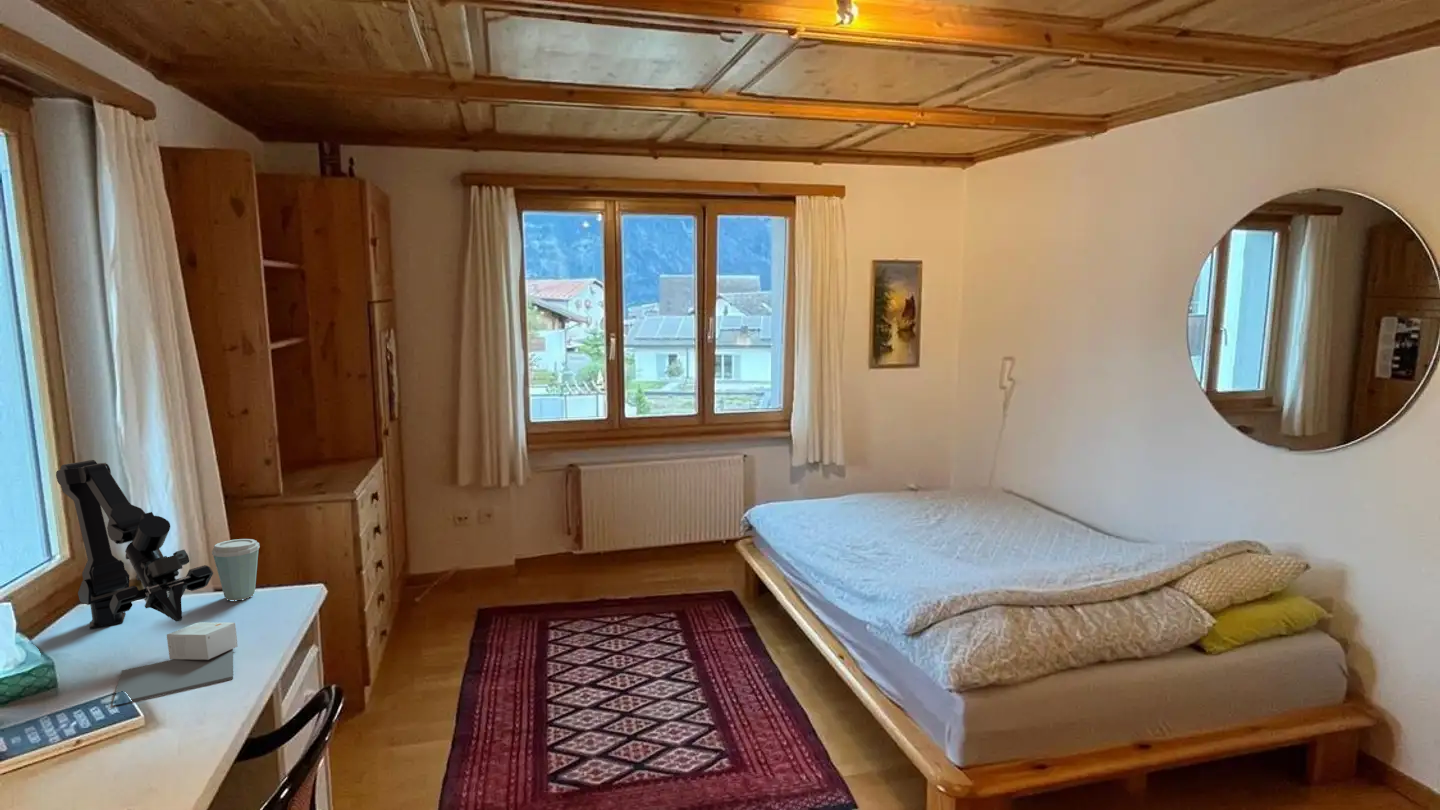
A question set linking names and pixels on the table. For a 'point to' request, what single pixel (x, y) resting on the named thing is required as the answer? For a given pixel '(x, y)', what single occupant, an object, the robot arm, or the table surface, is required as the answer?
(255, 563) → the disposable coffee cup
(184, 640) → the small box
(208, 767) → the table surface
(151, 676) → the charcoal mat
